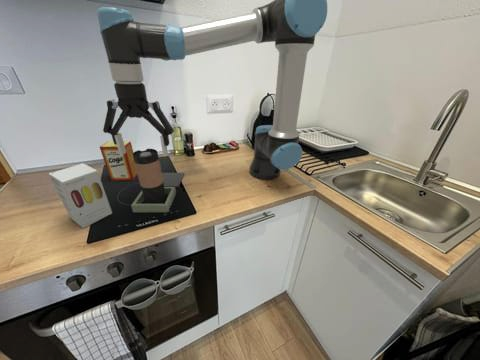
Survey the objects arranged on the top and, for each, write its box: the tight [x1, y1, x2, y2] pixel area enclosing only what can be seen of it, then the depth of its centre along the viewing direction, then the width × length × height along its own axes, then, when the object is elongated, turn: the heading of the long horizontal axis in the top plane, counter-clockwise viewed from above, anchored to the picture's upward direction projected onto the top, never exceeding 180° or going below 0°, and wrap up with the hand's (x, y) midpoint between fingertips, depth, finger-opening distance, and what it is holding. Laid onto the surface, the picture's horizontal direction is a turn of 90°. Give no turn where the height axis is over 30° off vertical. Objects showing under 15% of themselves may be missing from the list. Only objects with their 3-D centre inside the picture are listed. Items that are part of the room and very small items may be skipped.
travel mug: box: [133, 148, 167, 204], centre depth 69 cm, size 8×8×20 cm
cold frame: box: [131, 187, 177, 213], centre depth 74 cm, size 12×12×3 cm
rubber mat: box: [162, 172, 185, 188], centre depth 89 cm, size 12×12×1 cm
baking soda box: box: [99, 140, 138, 181], centre depth 86 cm, size 10×6×16 cm
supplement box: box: [48, 163, 113, 229], centre depth 63 cm, size 10×9×17 cm
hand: (144, 154), depth 65 cm, fingers open, 13 cm apart
